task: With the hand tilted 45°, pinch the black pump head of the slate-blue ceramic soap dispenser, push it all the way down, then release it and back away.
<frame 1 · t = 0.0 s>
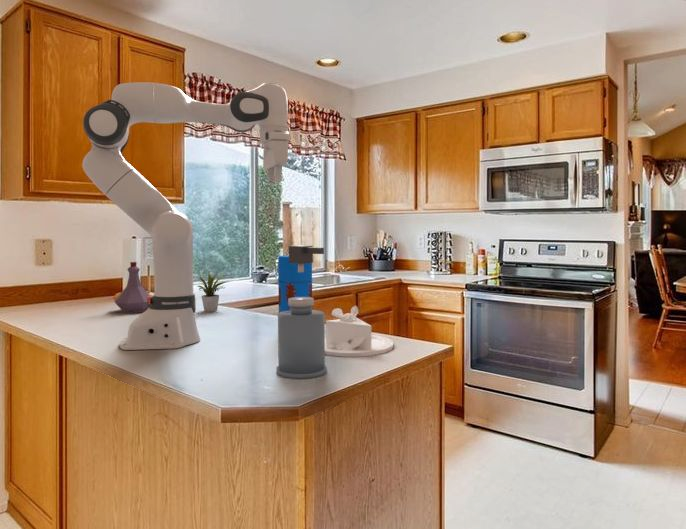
hand: (274, 183, 159), 48 cm above the table, tool pointing down, fingers open, 8 cm apart
house plant: (209, 311, 207), on the table
dispenser: (301, 371, 121), on the table
dish: (350, 347, 147), on the table
flask: (135, 311, 209), on the table
pump head: (307, 259, 118), point 27 cm above the table, slide at 0.0 cm
thermos: (295, 333, 165), on the table
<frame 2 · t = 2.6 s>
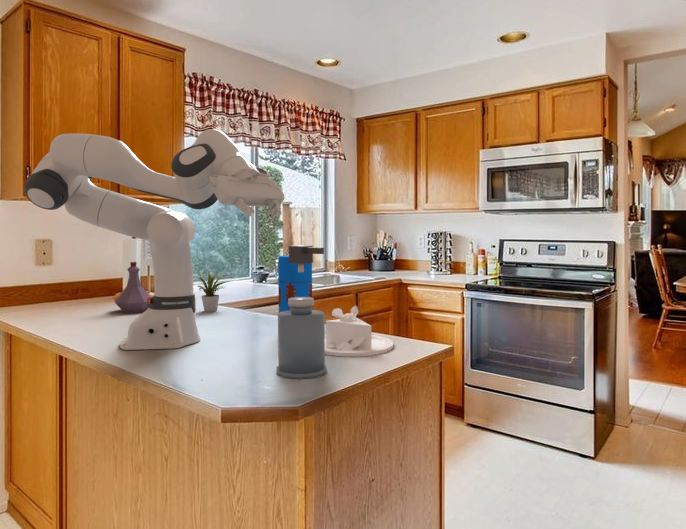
hand: (265, 214, 126), 37 cm above the table, tool tilted 45°, fingers open, 8 cm apart
nothing on the table moved.
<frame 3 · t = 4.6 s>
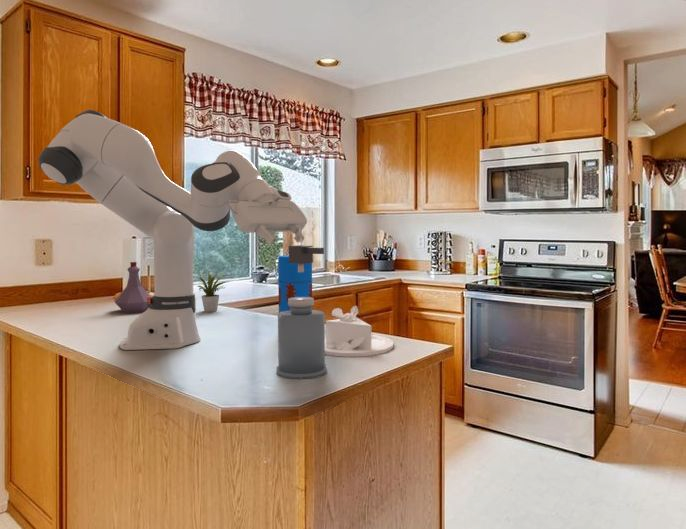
hand: (287, 241, 121), 31 cm above the table, tool tilted 45°, fingers open, 8 cm apart
nothing on the table moved.
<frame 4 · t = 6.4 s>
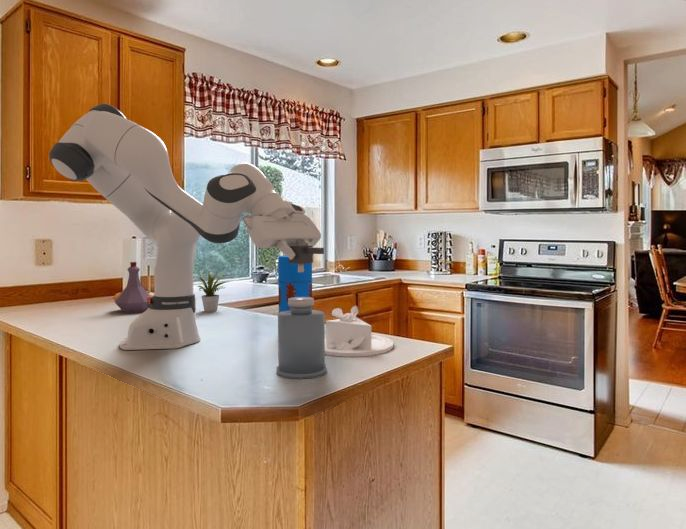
hand: (302, 257, 119), 27 cm above the table, tool tilted 45°, fingers closed on pump head, 4 cm apart
pump head: (307, 259, 118), point 27 cm above the table, slide at 0.0 cm, touching gripper
everything else where it was.
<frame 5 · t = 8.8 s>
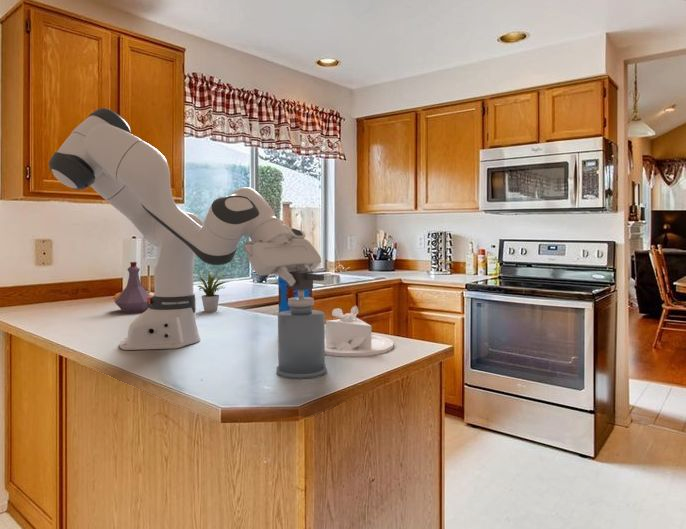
hand: (302, 283, 119), 21 cm above the table, tool tilted 45°, fingers closed on pump head, 4 cm apart
pump head: (308, 285, 118), point 21 cm above the table, slide at 6.1 cm, touching gripper
everything else where it was.
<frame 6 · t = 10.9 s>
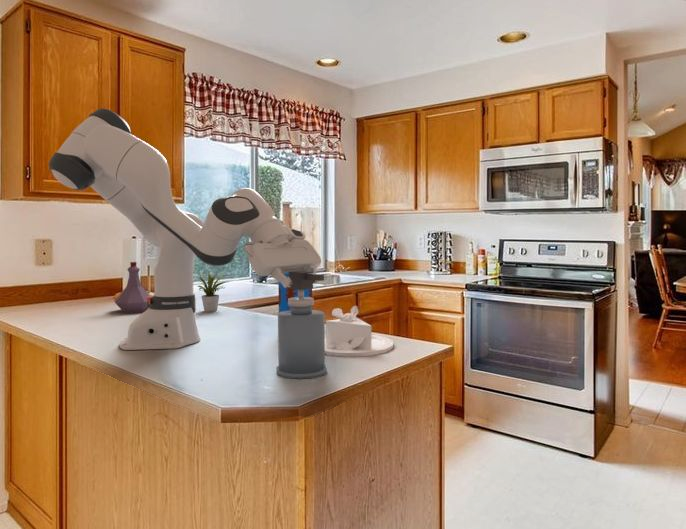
hand: (303, 283, 119), 21 cm above the table, tool tilted 45°, fingers open, 8 cm apart
pump head: (308, 285, 118), point 21 cm above the table, slide at 6.1 cm
everything else where it was.
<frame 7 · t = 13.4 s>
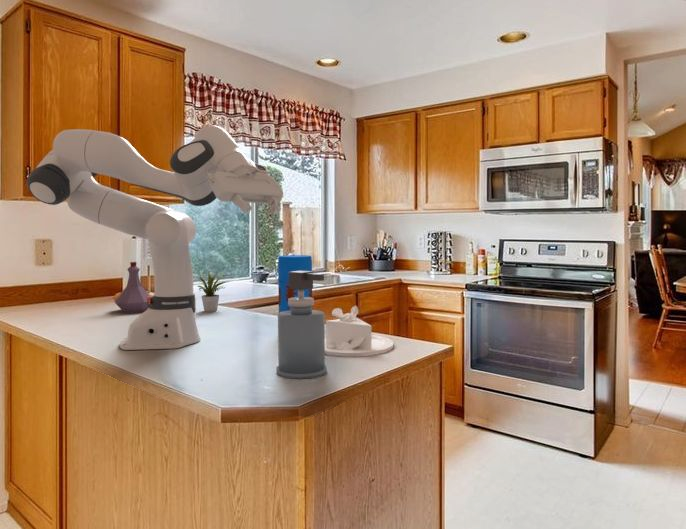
hand: (263, 211, 126), 38 cm above the table, tool tilted 45°, fingers open, 8 cm apart
nothing on the table moved.
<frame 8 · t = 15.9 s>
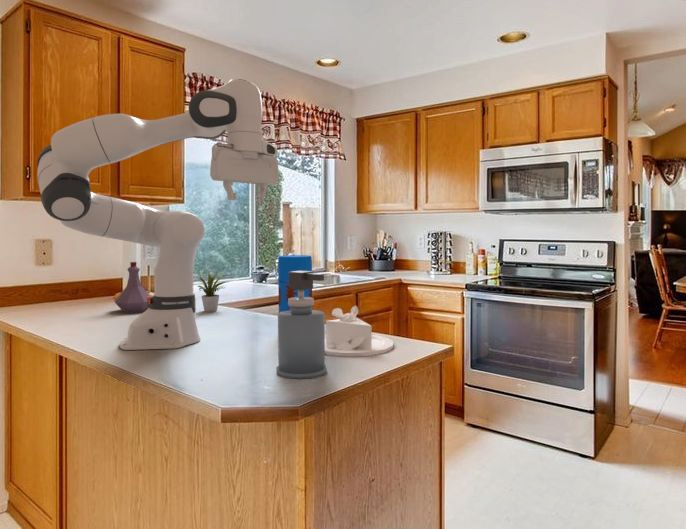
hand: (246, 200, 131), 41 cm above the table, tool pointing down, fingers open, 8 cm apart
nothing on the table moved.
at the end: pump head slide at 6.1 cm; the gripper is holding nothing; dish moved 0.6 cm from its start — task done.
